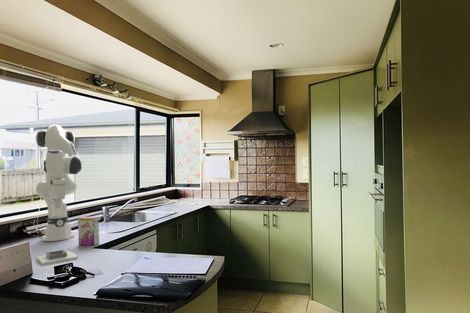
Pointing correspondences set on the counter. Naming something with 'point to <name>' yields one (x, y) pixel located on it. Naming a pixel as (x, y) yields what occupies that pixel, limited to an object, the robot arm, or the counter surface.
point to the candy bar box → (88, 230)
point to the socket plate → (56, 257)
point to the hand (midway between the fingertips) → (57, 207)
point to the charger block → (56, 210)
